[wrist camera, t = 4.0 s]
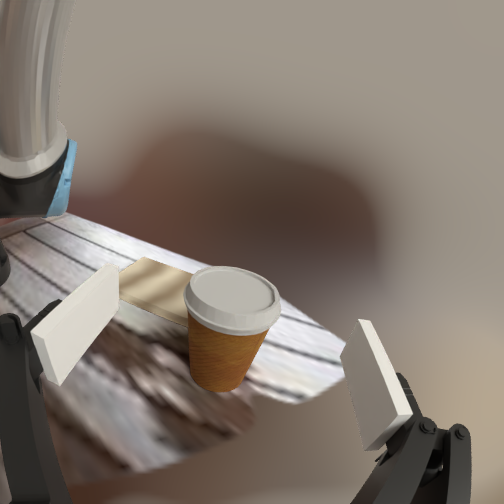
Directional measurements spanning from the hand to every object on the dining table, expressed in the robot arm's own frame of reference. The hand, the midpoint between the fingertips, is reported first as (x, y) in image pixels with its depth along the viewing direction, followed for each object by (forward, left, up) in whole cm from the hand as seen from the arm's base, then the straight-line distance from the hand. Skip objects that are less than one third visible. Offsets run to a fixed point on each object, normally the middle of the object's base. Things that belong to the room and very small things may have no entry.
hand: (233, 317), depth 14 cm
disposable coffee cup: (-2, +11, -17) cm, 20 cm away
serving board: (-14, +23, -17) cm, 32 cm away
